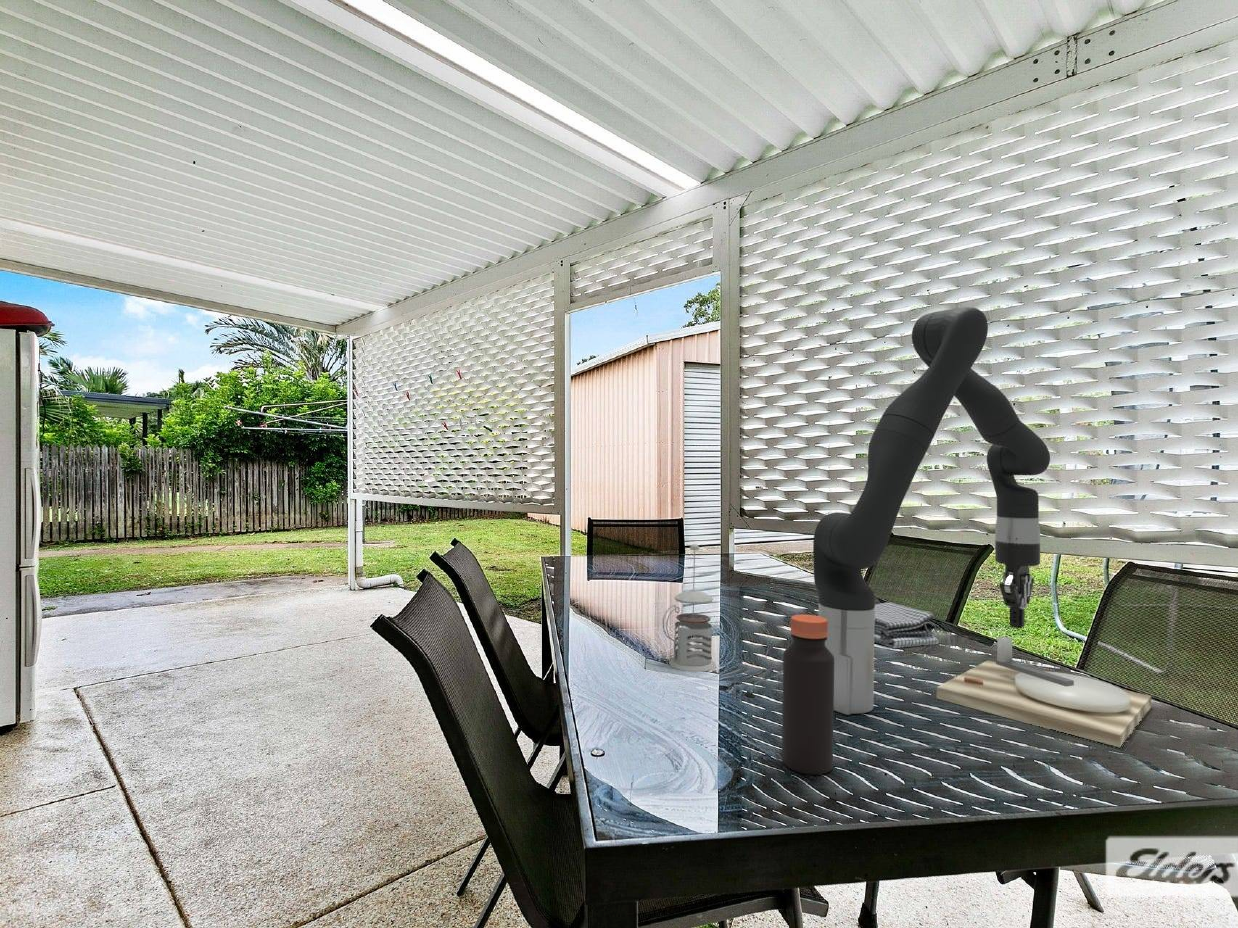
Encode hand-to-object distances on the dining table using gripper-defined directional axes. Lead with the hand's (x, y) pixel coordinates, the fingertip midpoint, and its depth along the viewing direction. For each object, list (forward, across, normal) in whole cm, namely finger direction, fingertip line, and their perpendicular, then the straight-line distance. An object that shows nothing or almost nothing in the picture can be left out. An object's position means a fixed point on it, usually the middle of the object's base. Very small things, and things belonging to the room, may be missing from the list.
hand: (1017, 626), depth 122 cm
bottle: (+10, -65, +7) cm, 66 cm away
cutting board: (+10, -11, -7) cm, 17 cm away
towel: (+11, +11, +31) cm, 35 cm away
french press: (+10, -45, +47) cm, 66 cm away
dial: (+8, -11, -9) cm, 16 cm away
